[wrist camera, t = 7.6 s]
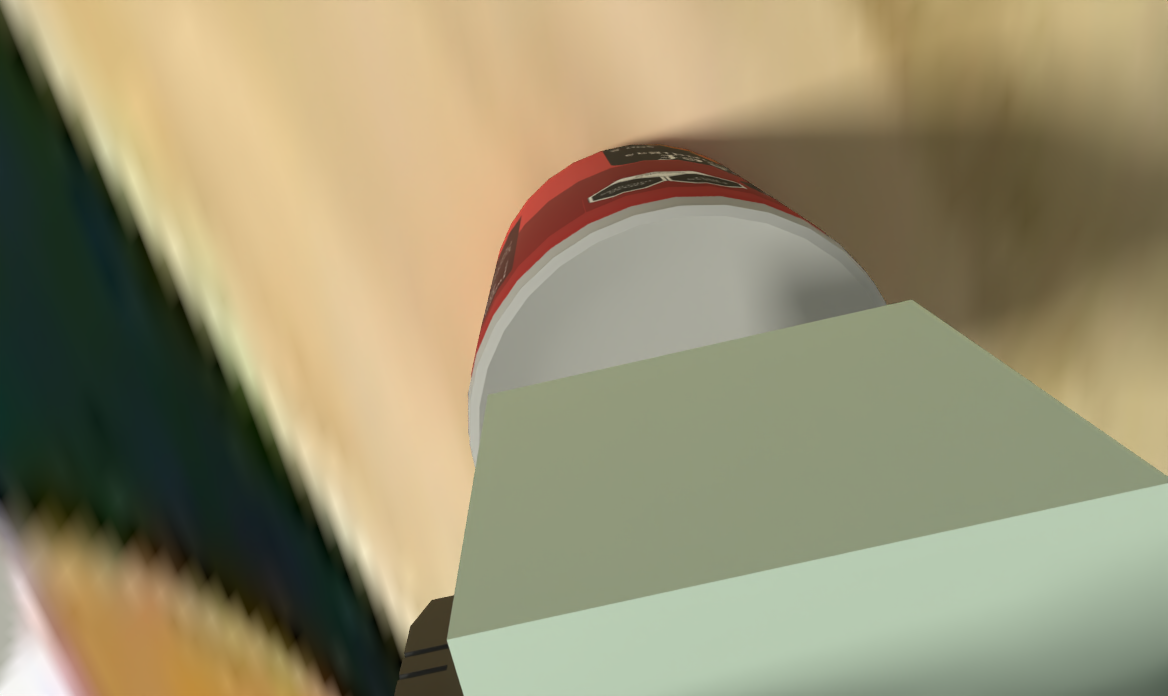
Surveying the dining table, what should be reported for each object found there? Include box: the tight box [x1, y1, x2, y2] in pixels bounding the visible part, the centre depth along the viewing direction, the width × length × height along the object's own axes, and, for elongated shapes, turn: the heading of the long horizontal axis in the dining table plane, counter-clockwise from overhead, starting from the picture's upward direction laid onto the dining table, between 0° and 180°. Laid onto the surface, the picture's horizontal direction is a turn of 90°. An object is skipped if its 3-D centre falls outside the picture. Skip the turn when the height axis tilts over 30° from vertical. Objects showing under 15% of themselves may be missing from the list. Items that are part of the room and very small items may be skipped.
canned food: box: [468, 145, 887, 468], centre depth 23 cm, size 8×8×11 cm
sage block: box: [447, 300, 1168, 696], centre depth 11 cm, size 6×6×6 cm
